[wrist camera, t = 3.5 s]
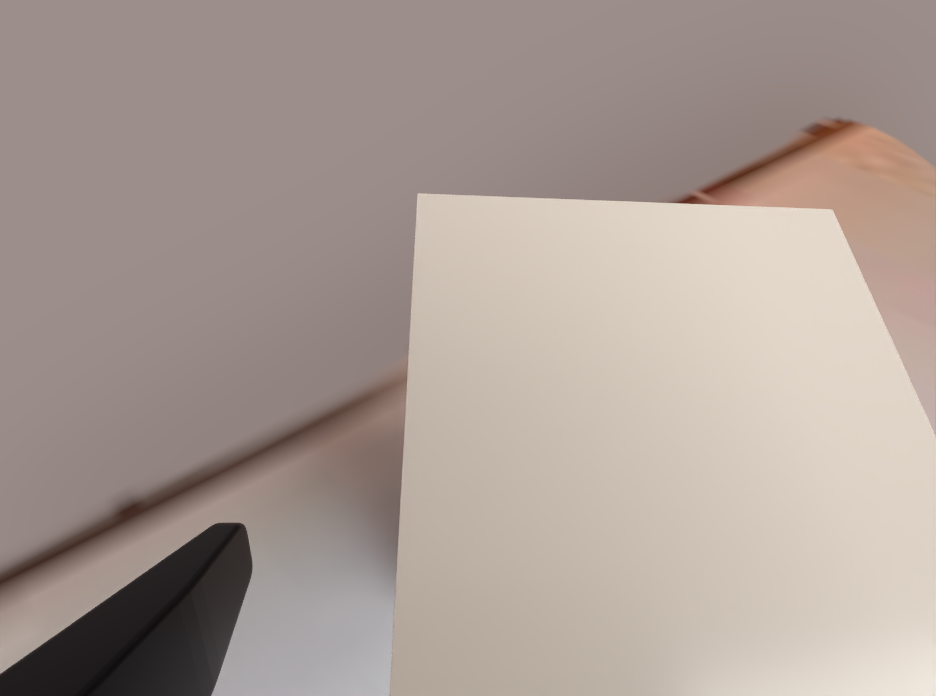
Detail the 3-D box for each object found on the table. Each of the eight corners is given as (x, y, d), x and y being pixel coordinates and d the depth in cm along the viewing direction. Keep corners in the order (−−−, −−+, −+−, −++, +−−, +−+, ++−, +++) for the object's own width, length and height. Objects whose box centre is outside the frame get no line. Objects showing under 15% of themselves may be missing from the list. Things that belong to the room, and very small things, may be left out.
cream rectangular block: (537, 614, 15) (1210, 1043, 2) (431, 615, 14) (366, 1109, 2) (528, 473, 16) (831, 208, 4) (434, 473, 16) (417, 194, 4)
